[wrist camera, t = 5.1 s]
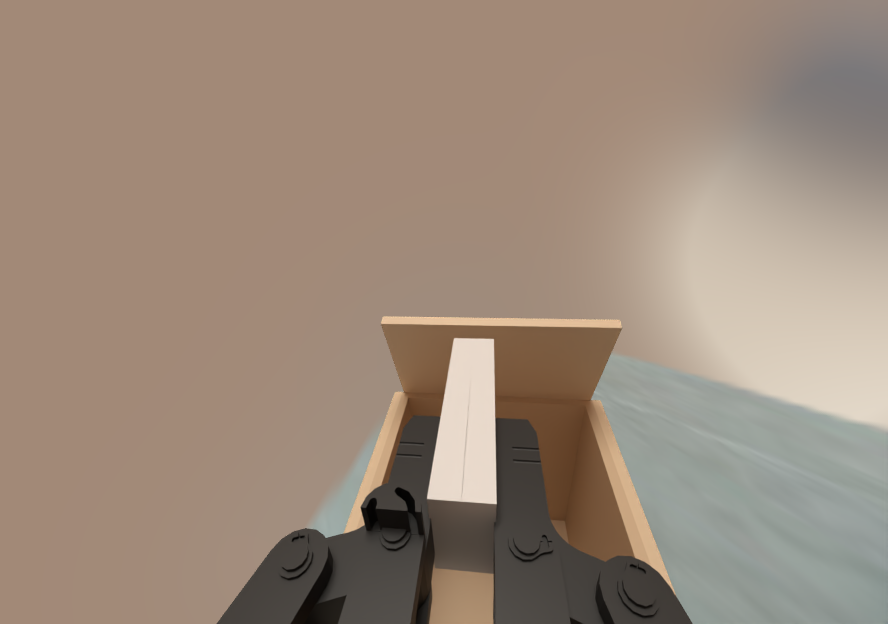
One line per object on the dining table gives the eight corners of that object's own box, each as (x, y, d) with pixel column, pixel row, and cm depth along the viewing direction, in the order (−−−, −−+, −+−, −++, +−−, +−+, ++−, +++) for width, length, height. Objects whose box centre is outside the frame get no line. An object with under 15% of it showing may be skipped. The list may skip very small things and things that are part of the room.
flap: (404, 392, 23) (405, 385, 24) (590, 400, 22) (589, 392, 22) (380, 323, 18) (382, 316, 19) (622, 327, 17) (619, 320, 17)
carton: (411, 505, 29) (395, 391, 24) (576, 519, 27) (600, 400, 22) (331, 882, 15) (239, 819, 9) (669, 962, 13) (810, 944, 7)
